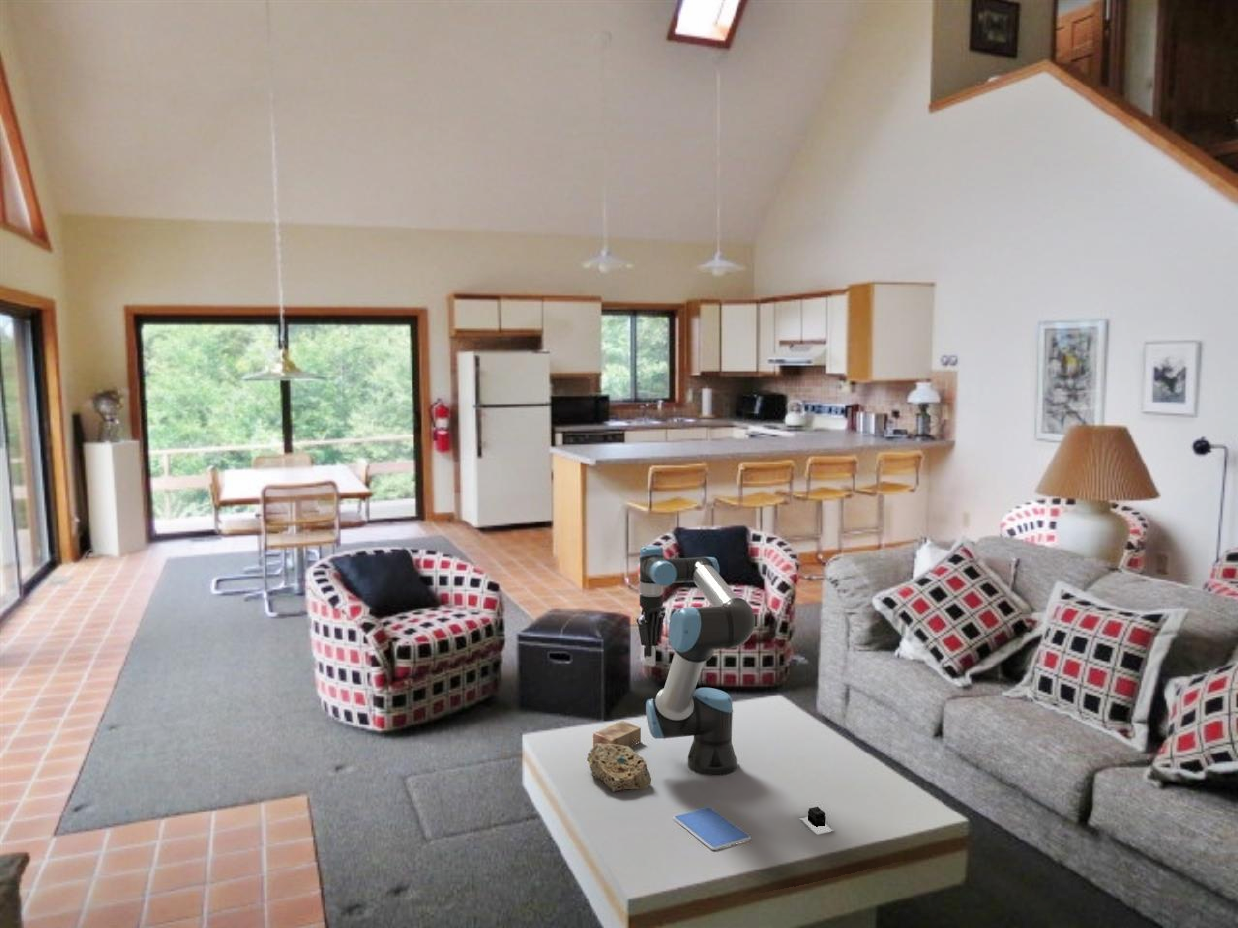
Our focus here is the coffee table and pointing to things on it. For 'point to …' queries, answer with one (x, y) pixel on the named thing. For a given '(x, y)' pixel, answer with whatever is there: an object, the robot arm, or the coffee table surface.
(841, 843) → the coffee table surface
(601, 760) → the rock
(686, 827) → the tablet computer
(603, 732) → the light brown wooden block
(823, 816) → the black block
